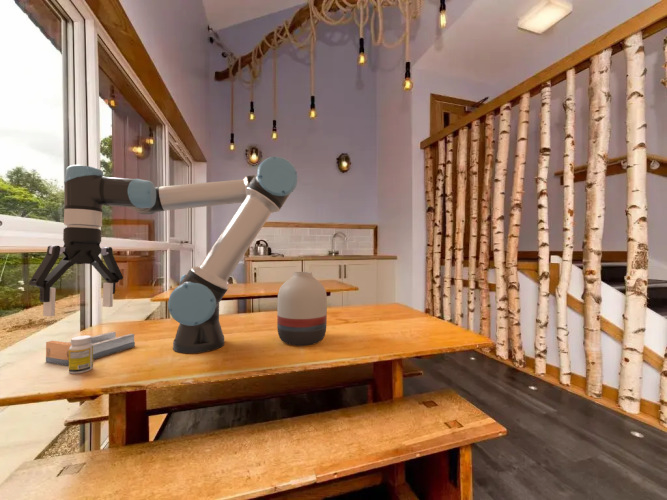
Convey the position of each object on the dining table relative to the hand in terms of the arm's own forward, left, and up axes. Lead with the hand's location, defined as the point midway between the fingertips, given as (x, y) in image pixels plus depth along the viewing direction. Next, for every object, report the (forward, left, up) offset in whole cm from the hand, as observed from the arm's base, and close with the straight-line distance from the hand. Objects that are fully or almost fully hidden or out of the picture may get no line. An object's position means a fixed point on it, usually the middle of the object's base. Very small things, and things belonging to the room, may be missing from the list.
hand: (80, 310), depth 77 cm
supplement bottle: (0, 0, -15) cm, 15 cm away
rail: (+10, -10, -15) cm, 21 cm away
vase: (-43, -42, -15) cm, 62 cm away
